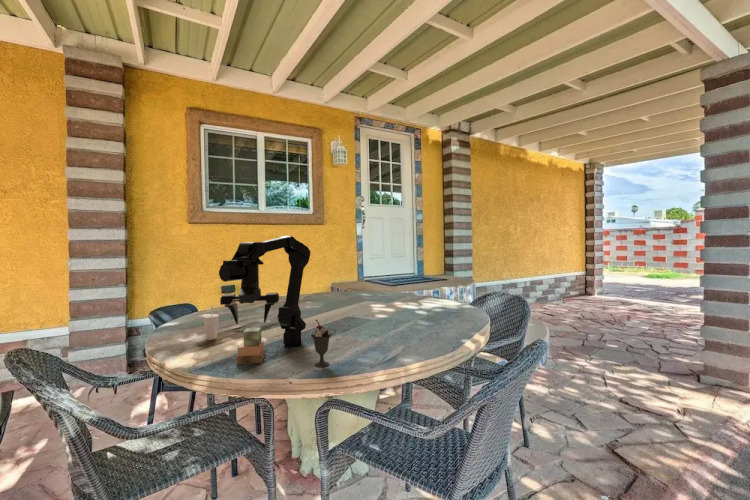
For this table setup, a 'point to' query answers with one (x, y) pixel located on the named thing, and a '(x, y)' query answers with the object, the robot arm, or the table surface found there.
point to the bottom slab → (251, 358)
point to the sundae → (321, 344)
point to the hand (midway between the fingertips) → (251, 323)
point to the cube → (252, 336)
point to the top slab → (250, 350)
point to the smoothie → (211, 325)
